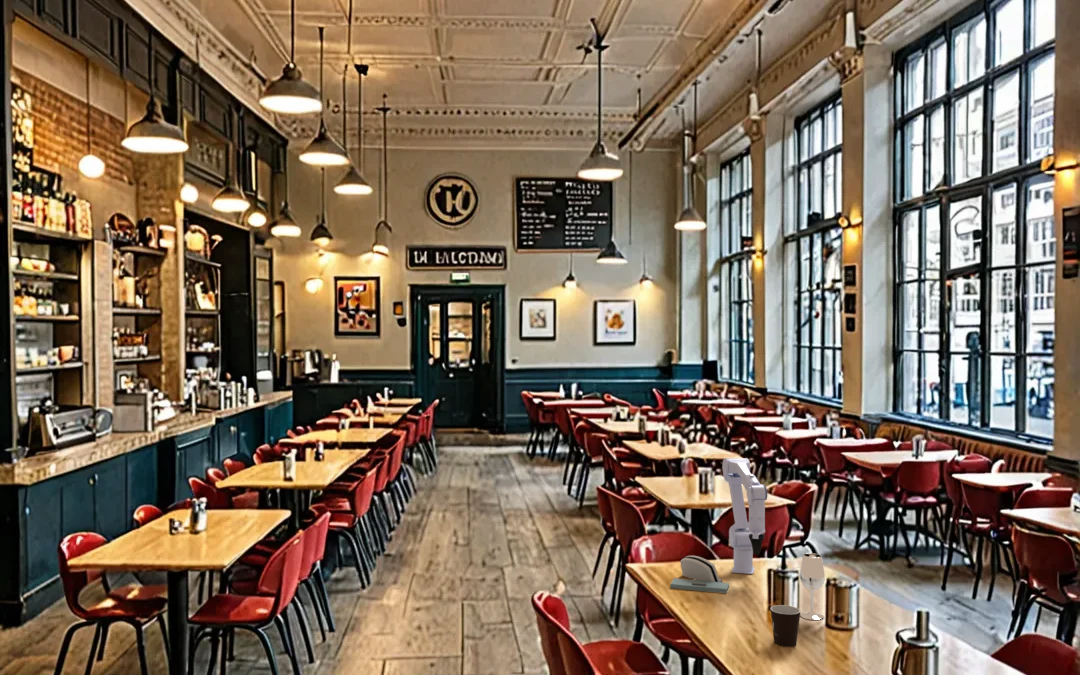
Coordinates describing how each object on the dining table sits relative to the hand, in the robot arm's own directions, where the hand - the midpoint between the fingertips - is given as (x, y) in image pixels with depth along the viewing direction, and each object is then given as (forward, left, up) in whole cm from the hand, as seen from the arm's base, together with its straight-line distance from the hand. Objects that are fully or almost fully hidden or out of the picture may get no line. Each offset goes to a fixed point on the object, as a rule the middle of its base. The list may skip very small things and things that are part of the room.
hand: (756, 554), depth 322 cm
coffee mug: (+62, +13, -11) cm, 64 cm away
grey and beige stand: (+4, -20, -11) cm, 23 cm away
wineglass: (+35, +20, -11) cm, 42 cm away
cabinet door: (+14, -19, -10) cm, 26 cm away
